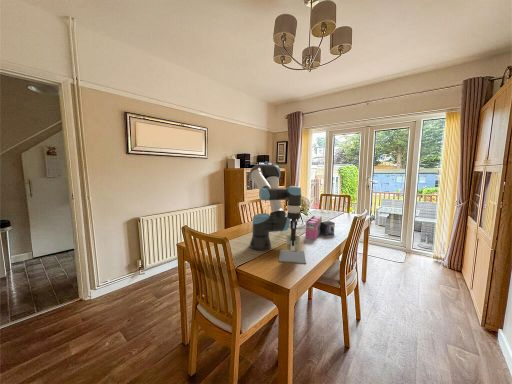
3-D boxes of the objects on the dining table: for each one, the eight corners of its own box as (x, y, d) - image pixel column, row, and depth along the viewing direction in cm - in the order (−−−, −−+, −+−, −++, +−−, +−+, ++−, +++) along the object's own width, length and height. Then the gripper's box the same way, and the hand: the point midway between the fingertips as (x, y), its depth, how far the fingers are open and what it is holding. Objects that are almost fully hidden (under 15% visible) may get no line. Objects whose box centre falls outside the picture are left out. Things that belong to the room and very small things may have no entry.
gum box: (312, 230, 193) (313, 215, 191) (321, 231, 189) (322, 216, 187) (305, 238, 172) (305, 221, 170) (314, 239, 168) (315, 223, 166)
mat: (278, 261, 129) (278, 260, 128) (280, 250, 146) (280, 249, 146) (306, 264, 126) (306, 263, 126) (303, 251, 144) (303, 251, 144)
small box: (324, 236, 177) (325, 224, 175) (319, 234, 182) (320, 222, 181) (334, 234, 181) (335, 222, 180) (328, 232, 187) (329, 220, 186)
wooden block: (286, 251, 131) (286, 235, 130) (286, 249, 133) (286, 234, 132) (299, 252, 130) (300, 236, 128) (299, 250, 132) (299, 235, 131)
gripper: (301, 215, 120) (299, 255, 123) (299, 209, 136) (298, 245, 138) (287, 214, 121) (286, 254, 124) (287, 209, 137) (286, 244, 139)
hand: (292, 249), depth 131 cm, fingers closed on wooden block, 2 cm apart
